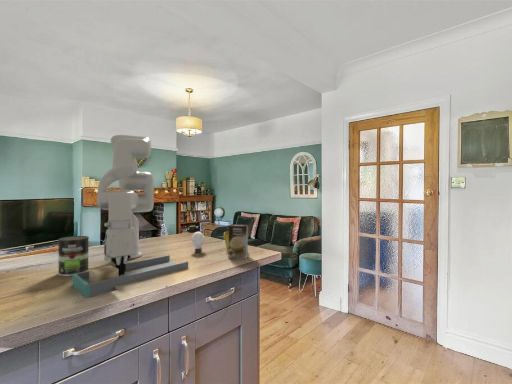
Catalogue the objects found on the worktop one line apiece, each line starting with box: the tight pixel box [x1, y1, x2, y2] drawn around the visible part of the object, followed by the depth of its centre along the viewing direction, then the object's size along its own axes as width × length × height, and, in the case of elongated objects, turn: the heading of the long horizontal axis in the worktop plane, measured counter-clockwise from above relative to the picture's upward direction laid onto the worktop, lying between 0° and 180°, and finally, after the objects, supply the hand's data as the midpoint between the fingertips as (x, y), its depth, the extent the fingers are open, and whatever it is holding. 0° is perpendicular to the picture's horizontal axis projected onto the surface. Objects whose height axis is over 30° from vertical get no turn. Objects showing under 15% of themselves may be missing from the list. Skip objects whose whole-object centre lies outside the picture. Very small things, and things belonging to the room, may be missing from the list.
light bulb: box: [191, 231, 205, 254], centre depth 143 cm, size 7×7×11 cm
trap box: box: [71, 254, 189, 299], centre depth 103 cm, size 37×16×4 cm, turn 137°
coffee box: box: [227, 223, 249, 260], centre depth 133 cm, size 9×6×16 cm
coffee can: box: [57, 235, 90, 277], centre depth 109 cm, size 10×10×14 cm
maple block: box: [88, 264, 119, 283], centre depth 94 cm, size 7×7×4 cm
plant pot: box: [223, 231, 229, 252], centre depth 148 cm, size 10×10×10 cm
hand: (120, 274), depth 99 cm, fingers closed
